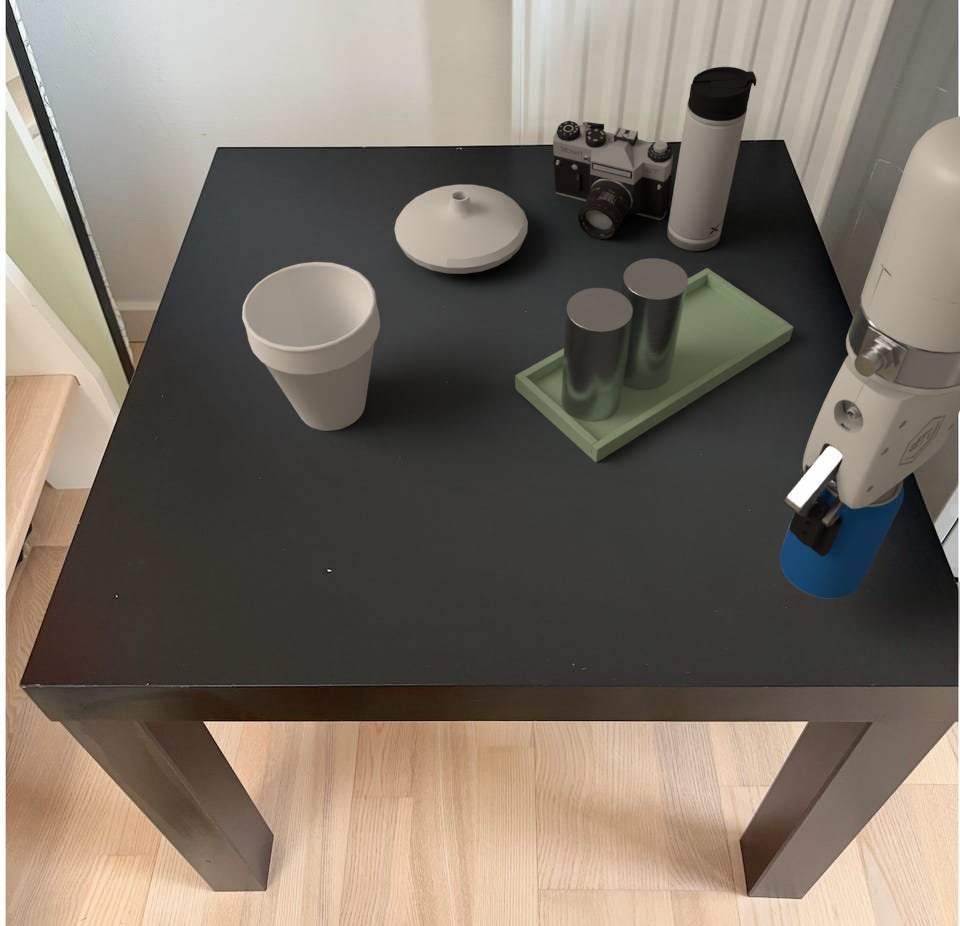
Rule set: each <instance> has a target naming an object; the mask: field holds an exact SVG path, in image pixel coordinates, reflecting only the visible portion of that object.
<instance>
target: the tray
mask: <svg viewBox="0 0 960 926" xmlns="http://www.w3.org/2000/svg"><path fill="white" fill-rule="evenodd" d="M687 278H688V285H687V290H686V295H685V300H684V306H683V311H682V316H681V321H680V327H679V332H678V337H677V342H676V348H675V353H674V358H673V363H672V368H671V374H670V377H669V379H668V380H667V381H666V382H665V383H664V384H663V385H661V386H659V387H657V388H654V389H649V390H639V389H634V388H630V387H628V386H626V385H624V384H623V387H622V395H621V402H620V406H619V409H618V410H617V411H616V413H615V414H614V415H612V416H611V417H609V418H607V419H604V420H601V421H584V420H580V419H577V418H575V417H573V416H572V415H570V414H569V413H568V412H567V411H566V410H565V409H564V407H563V405H562V402H561V391H562V375H563V358H564V347H563V348H562V349H559V350H558V351H556V352H555V353H553V354H551V355H549V356H547V357H546V358H544V359H542V360H540V361H538V362H537V363H535V364H533V365H531V366H530V367H528V368H526V369H524V370H521V372H519V373H517V374H516V375H514V384H515V385H514V389H515V390H516V391H517V392H518V393H519V394H520V395H521V396H522V397H523V398H524V399H526V400H527V401H528V403H530V404H531V405H532V406H533V407H534V408H535V409H536V410H538V411H539V412H540V413H541V414H542V415H543V416H544V417H545V418H546V419H547V420H548V421H549V422H550V423H552V424H553V425H554V426H555V427H556V428H557V429H558V430H559V431H560V432H562V434H564V435H565V436H566V437H567V438H568V439H569V440H570V441H571V442H573V444H575V445H576V446H577V447H578V448H579V449H580V450H581V451H583V452H584V453H585V454H586V455H587V456H588V457H589V458H590V459H591V460H592V461H593V462H594V463H595V464H597V463H598V462H600V461H601V460H603V459H605V458H606V457H608V456H609V455H611V454H613V453H614V452H615V451H618V450H619V449H621V448H623V447H624V446H625V445H626V444H629V443H630V442H631V441H633V440H635V439H636V438H638V437H640V436H641V435H642V434H645V432H648V431H650V429H652V428H654V427H655V426H657V425H658V424H661V422H663V421H665V420H667V419H668V418H670V417H671V416H673V415H674V414H676V413H678V412H679V411H680V410H682V409H684V408H685V407H687V406H689V405H690V404H692V403H693V402H695V401H696V400H698V399H699V398H701V397H703V396H705V395H706V394H707V393H709V392H711V391H713V390H714V389H715V388H717V387H719V386H720V385H723V383H725V382H727V381H728V380H730V379H731V378H733V377H734V376H736V375H738V374H739V373H741V372H742V371H744V370H746V369H747V368H749V367H751V366H752V365H754V364H755V363H757V362H758V361H760V360H762V359H763V358H764V357H766V356H768V355H770V354H771V353H772V352H774V351H776V350H777V349H779V348H781V347H782V346H783V345H785V344H787V343H788V342H790V341H791V337H792V334H793V331H794V328H795V327H794V325H792V324H790V323H789V322H788V321H786V320H784V319H783V318H782V317H780V316H779V315H777V313H774V312H773V311H771V310H770V309H768V308H767V307H766V306H764V305H763V304H761V303H759V301H757V300H755V299H754V298H752V297H751V296H749V295H748V294H746V293H745V292H743V291H742V290H741V289H739V288H737V287H736V286H734V285H733V284H732V283H730V282H729V281H727V280H726V279H724V278H723V277H722V276H720V275H719V274H717V273H715V272H714V271H712V270H711V269H710V268H708V267H707V268H704V269H703V270H701V271H699V272H697V273H695V274H694V275H692V276H690V277H687Z"/></svg>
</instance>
